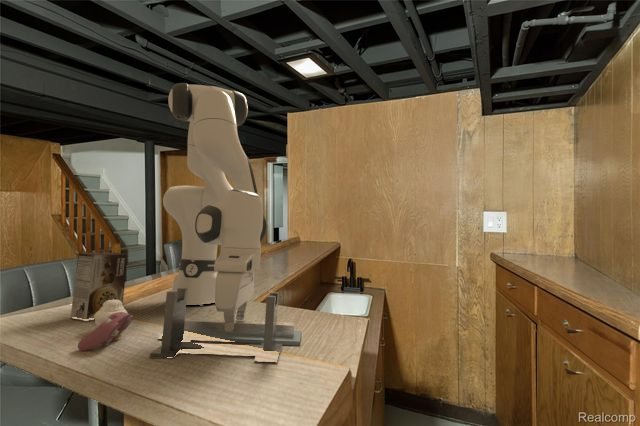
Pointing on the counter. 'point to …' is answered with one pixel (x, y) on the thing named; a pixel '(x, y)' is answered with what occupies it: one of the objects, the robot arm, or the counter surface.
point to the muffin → (108, 310)
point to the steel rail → (236, 327)
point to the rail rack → (173, 344)
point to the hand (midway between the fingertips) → (235, 324)
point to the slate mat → (258, 338)
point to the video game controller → (106, 331)
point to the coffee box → (98, 282)
